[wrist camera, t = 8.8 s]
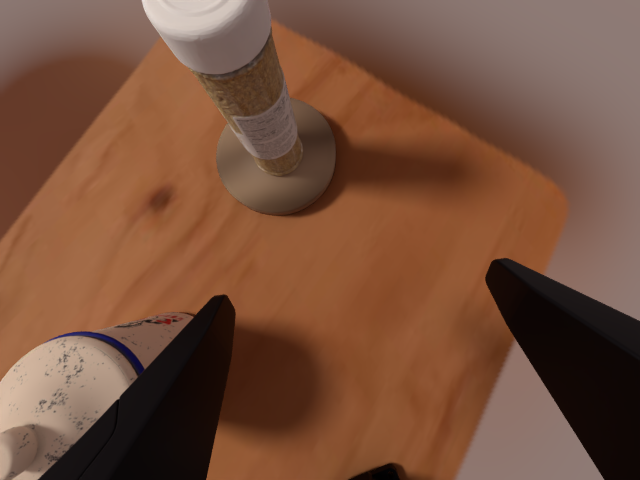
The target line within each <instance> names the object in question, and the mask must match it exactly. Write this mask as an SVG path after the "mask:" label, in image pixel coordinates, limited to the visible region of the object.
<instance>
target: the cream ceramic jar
mask: <svg viewBox="0 0 640 480" xmlns="http://www.w3.org/2000/svg"><path fill="white" fill-rule="evenodd" d="M192 318H193V316H191V315H188V314H184V313H178V312H171V313H164V314H160V315H156V316H152V317H148V318H144V319H140V320H136V321H132V322H128V323H124V324H120V325H116V326H112V327H108V328H104V329H100V330H97V331H93V332H73V333H68V334H64V335H61V336H58V337H55V338H53V339H51V340H49V341H47V342H45V343H43V344H42V345H40V346H38V347H36V348H35V349H33V350H31V351H30V352H29V353H27V354H26V355H25V356H24V357H22V358H21V359H20V360H19V361H18V362H17V363H16V364H15V365H14V366H13V367H12V368H11V369H10V370H9V371H8V373H7V374H6V375H5V376H4V378H3V379H2V381H1V382H0V480H38V479H39V478H40V477H41V476H42V475H43V474H44V473H45V472H46V471H47V470H48V469H49V468H50V467H51V466H52V465H53V464H54V463H55V462H56V461H57V460H58V459H59V458H60V457H61V456H62V455H63V454H64V453H65V452H66V451H67V450H68V449H69V448H70V447H71V446H72V445H73V444H74V443H75V442H76V441H77V440H78V439H80V438H81V437H82V436H83V434H84V433H85V432H86V431H87V430H88V429H89V428H90V427H91V426H92V425H93V424H94V423H95V422H96V421H97V420H98V419H99V418H100V417H101V416H102V415H103V414H104V413H105V412H106V410H107V409H108V408H109V407H110V406H111V405H112V404H113V403H114V402H115V401H116V400H117V399H119V397H120V396H121V395H122V393H123V392H124V391H125V390H126V389H127V388H128V387H129V386H130V385H131V384H132V383H133V382H134V381H135V380H136V378H137V377H138V376H139V375H140V374H141V373H142V372H143V371H144V370H145V369H146V368H147V367H148V366H149V365H150V363H151V362H152V361H153V360H154V359H155V358H156V357H157V356H158V355H159V354H160V353H161V352H162V351H163V350H164V348H165V347H166V346H167V345H168V344H169V343H170V342H171V341H172V340H173V339H174V338H175V337H176V336H177V335H178V333H179V332H180V331H181V330H182V329H183V328H184V327H185V326H186V325H187V324H188V323H189V322H190V321H191V320H192Z"/></svg>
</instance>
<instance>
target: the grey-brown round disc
mask: <svg viewBox="0 0 640 480" xmlns="http://www.w3.org/2000/svg"><path fill="white" fill-rule="evenodd" d="M290 101H291V105H292V109H293V113H294V117H295V121H296V125H297V133H298V137H299V138H300V140H301V143H302V146H303V157H302V159H301V162H300V164H299V165H298V167H297V168H296V169H295V170H294V171H292V172H290V173H288V174H285V175H282V176H274V175H270V174H267V173H265V172H264V171H262V170H261V169H260V168H259V167H258V165H257V164H256V162H255V160H254V158H253V156H252V155H251V154H250V153H249V152H248V151H247V149H246V148H245V147H244V146H243V144H242V143H241V141H240V140H239V139H238V137H237V136H236V134H235V133H234V132H233V130H232V129H231V127H230V126H229V124H228V123H227V125H226V126H225V128H224V130H223V132H222V134H221V136H220V139H219V142H218V146H217V153H216V162H217V169H218V172H219V176H220V178H221V180H222V182H223V184H224V186H225V187H226V189H227V190H228V191H229V192H230V194H231V195H232V196H234V197H235V198H236V199H237V200H238V201H240V202H241V203H242V204H244V205H245V206H247V207H248V208H250V209H252V210H254V211H256V212H259V213H262V214H267V215H287V214H292V213H295V212H298V211H301V210H303V209H305V208H307V207H308V206H310V205H311V204H313V203H314V202H315V201H316V200H317V199H319V198H320V196H321V195H322V194H323V193H324V192H325V190H326V189H327V187H328V186H329V184H330V182H331V180H332V177H333V174H334V170H335V163H336V146H335V140H334V135H333V133H332V130H331V128H330V126H329V124H328V122H327V121H326V120H325V118H324V117H323V116H322V115H321V114H320V113H319V112H318V111H317V110H316V109H315V108H313V107H312V106H310V105H308V104H307V103H305V102H302V101H300V100H297V99H293V98H290Z"/></svg>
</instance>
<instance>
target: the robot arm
mask: <svg viewBox="0 0 640 480" xmlns="http://www.w3.org/2000/svg"><path fill="white" fill-rule="evenodd" d="M485 280H486V284H487V286H488V288H489V290H490V292H491V294H492V296H493V298H494V300H495V302H496V304H497V306H498V308H499V310H500V312H501V314H502V316H503V318H504V320H505V322H506V324H507V326H508V327H509V329H510V331H511V332H512V334H513V336H514V337H515V339H516V340H517V342H518V344H519V345H520V347H521V348H522V350H523V351H524V353H525V355H526V356H527V358H528V359H529V361H530V363H531V364H532V365H533V367H534V369H535V370H536V372H537V374H538V375H539V377H540V378H541V380H542V382H543V383H544V385H545V386H546V388H547V389H548V391H549V393H550V394H551V396H552V397H553V399H554V401H555V402H556V404H557V405H558V407H559V409H560V410H561V412H562V413H563V415H564V416H565V418H566V419H567V421H568V423H569V424H570V426H571V427H572V429H573V431H574V432H575V433H576V435H577V437H578V439H579V440H580V442H581V443H582V445H583V447H584V448H585V450H586V451H587V453H588V454H589V456H590V457H591V459H592V461H593V462H594V464H595V465H596V467H597V468H598V470H599V472H600V473H601V475H602V477H603V478H604V480H640V321H639V320H637V319H634V318H632V317H630V316H628V315H626V314H624V313H622V312H620V311H618V310H615V309H613V308H611V307H609V306H607V305H605V304H603V303H601V302H599V301H597V300H594V299H592V298H590V297H588V296H586V295H584V294H582V293H580V292H578V291H576V290H573V289H571V288H569V287H567V286H565V285H563V284H561V283H559V282H557V281H554V280H553V279H550V278H548V277H546V276H544V275H542V274H540V273H538V272H536V271H534V270H532V269H529V268H527V267H525V266H523V265H521V264H519V263H517V262H515V261H513V260H511V259H508V258H502V259H495V260H493V261H492V262H491V264H490V267H489V269H488V271H487V274H486V277H485ZM235 315H236V314H235V309H234V307H233V305H232V303H231V301H230V300H229V298H228V296H227V295H216V296H214V297H212V298H211V299H210V300H209V301H208V302H207V303H206V305H205V306H204V307H203V308H202V309H201V310H200V311H199V312H198V313H197V314H196V315H195V316H194V317H193V318H192V320H191V321H190V322H189V323H188V324H187V325H186V326H185V327H184V328H183V329H182V330H181V331H180V332H179V333H178V335H177V336H176V337H175V338H174V339H173V340H172V341H171V342H170V343H169V344H168V345H167V346H166V347H165V348H164V350H163V351H162V352H161V353H160V354H159V355H158V356H157V357H156V358H155V359H154V360H153V361H152V362H151V363H150V365H149V366H148V367H147V368H146V369H145V370H144V371H143V372H142V373H141V374H140V375H139V376H138V377H137V378H136V380H135V381H134V382H133V383H132V384H131V385H130V386H129V387H128V388H127V389H126V390H125V391H124V392H123V393H122V395H121V396H120V397H119V399H117V400H116V401H115V402H114V403H113V404H112V405H111V406H110V407H109V408H108V409H107V410H106V412H105V413H104V414H103V415H102V416H101V417H100V418H99V419H98V420H97V421H96V422H95V423H94V424H93V425H92V426H91V427H90V428H89V429H88V430H87V431H86V432H85V433H84V434H83V436H82V437H81V438H80V439H78V440H77V441H76V442H75V443H74V444H73V445H72V446H71V447H70V448H69V449H68V450H67V451H66V452H65V453H64V454H63V455H62V456H61V457H60V458H59V459H58V460H57V461H56V462H55V463H54V464H53V465H52V466H51V467H50V468H49V469H48V470H47V471H46V472H45V473H44V474H43V475H42V476H41V477H40V478H39V479H38V480H206V478H207V473H208V468H209V463H210V459H211V454H212V449H213V444H214V439H215V434H216V430H217V425H218V420H219V415H220V410H221V406H222V401H223V396H224V391H225V386H226V381H227V377H228V372H229V367H230V362H231V356H232V347H233V336H234V326H235ZM390 471H391V472H393V473H392V474H388V472H390ZM349 480H400V478H399V476H398V473H397V471H396V468H395V467H394V466H393V465H392V464H387V465H384V466H382V467H380V468H377V469H375V470H372V471H370V472H366V473H364V474H361V475H359V476H356V477H354V478H351V479H349Z"/></svg>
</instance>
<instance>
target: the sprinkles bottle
mask: <svg viewBox="0 0 640 480" xmlns="http://www.w3.org/2000/svg"><path fill="white" fill-rule="evenodd" d="M142 3H143V7H144V10H145V12H146V14H147V16H148V18H149V20H150V21H151V23H152V24H153V26H154V27H155V29H156V30H157V31H158V33H159V34H160V36H161V37H162V38H163V40H164V41H165V43H166V44H167V45H168V47H169V48H170V49H171V51H172V52H173V53H174V55H175V56H176V57H177V58H178V59H179V61H180V62H181V63H183V64H184V65H186V66H187V67H188V68H189V69H190V71H191V72H193V74H194V75H195V76H196V78H197V79H198V81H199V82H200V84H201V85H202V86H203V88H204V89H205V91H206V93H207V94H208V95H209V96H210V98H211V99H212V101H213V102H214V104H215V105H216V106H217V108H218V109H219V111H220V112H221V113H222V115H223V116H224V118H225V119H226V120H227V122H228V124H229V126H230V127H231V129H232V130H233V132H234V133H235V134H236V136H237V137H238V139H239V140H240V141H241V143H242V144H243V146H244V147H245V148H246V149H247V151H248V152H249V153H250V154H251V155H252V156H253V158H254V160H255V162H256V164H257V165H258V167H259V168H260V169H261V170H262V171H264V172H265V173H267V174H270V175H274V176H282V175H285V174H288V173H290V172H292V171H294V170H295V169H296V168H297V167H298V165H299V164H300V162H301V159H302V157H303V146H302V143H301V140H300V138H299V137H298V133H297V125H296V121H295V117H294V113H293V109H292V105H291V101H290V98H289V94H288V90H287V86H286V82H285V78H284V74H283V71H282V68H281V66H280V64H279V60H278V56H277V52H276V49H275V44H274V41H273V37H272V28H271V14H270V9H269V5H268V1H267V0H142Z"/></svg>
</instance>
